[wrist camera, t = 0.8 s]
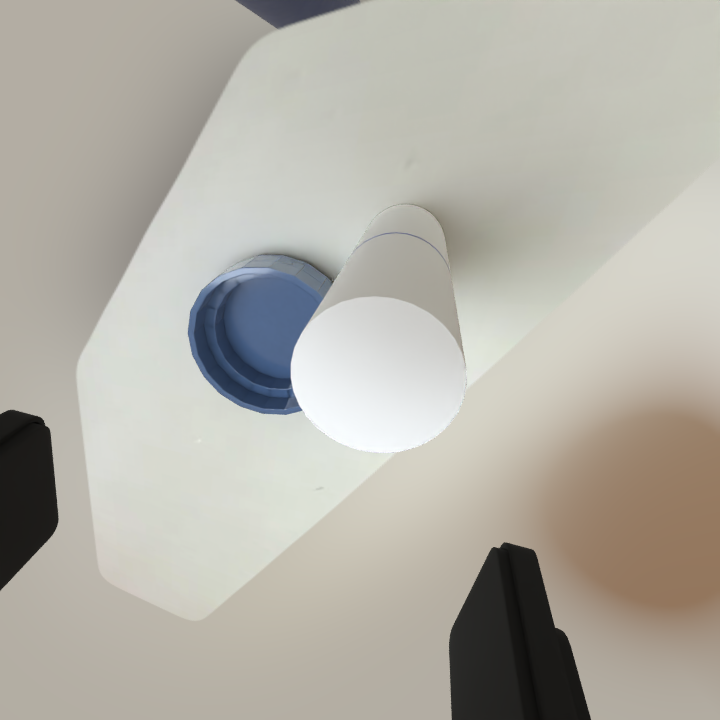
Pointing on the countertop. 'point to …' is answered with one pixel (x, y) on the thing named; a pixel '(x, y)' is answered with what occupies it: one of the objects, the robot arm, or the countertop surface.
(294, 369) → the cylindrical container
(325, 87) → the countertop surface
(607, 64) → the countertop surface
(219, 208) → the countertop surface
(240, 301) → the bowl
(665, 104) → the countertop surface
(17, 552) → the robot arm
